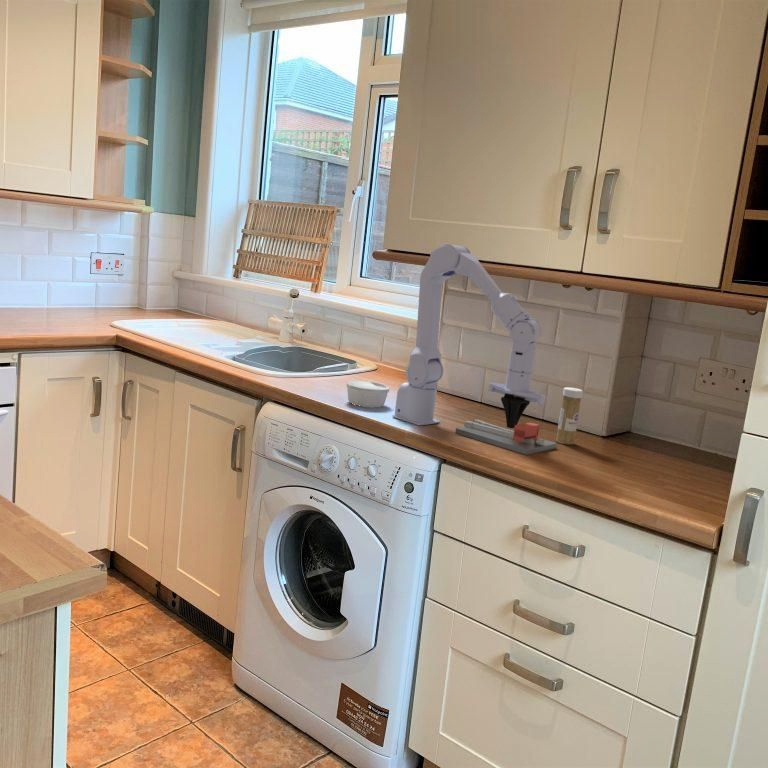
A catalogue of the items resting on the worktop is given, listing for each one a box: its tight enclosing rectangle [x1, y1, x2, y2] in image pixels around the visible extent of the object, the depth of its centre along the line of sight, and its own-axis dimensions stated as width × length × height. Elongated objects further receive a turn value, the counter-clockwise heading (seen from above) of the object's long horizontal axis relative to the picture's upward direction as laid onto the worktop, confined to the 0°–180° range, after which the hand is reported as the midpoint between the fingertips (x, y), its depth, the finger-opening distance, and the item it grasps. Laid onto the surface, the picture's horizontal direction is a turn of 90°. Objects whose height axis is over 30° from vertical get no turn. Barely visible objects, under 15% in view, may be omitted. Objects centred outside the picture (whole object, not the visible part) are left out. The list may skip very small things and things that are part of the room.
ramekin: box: [346, 380, 390, 408], centre depth 214 cm, size 11×11×5 cm
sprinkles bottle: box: [555, 386, 584, 445], centre depth 195 cm, size 5×5×13 cm
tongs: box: [463, 419, 545, 447], centre depth 191 cm, size 21×5×1 cm, turn 48°
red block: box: [513, 422, 540, 443], centre depth 187 cm, size 2×7×4 cm, turn 138°
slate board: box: [455, 426, 558, 456], centre depth 191 cm, size 20×13×1 cm, turn 48°
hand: (511, 427), depth 190 cm, fingers closed
